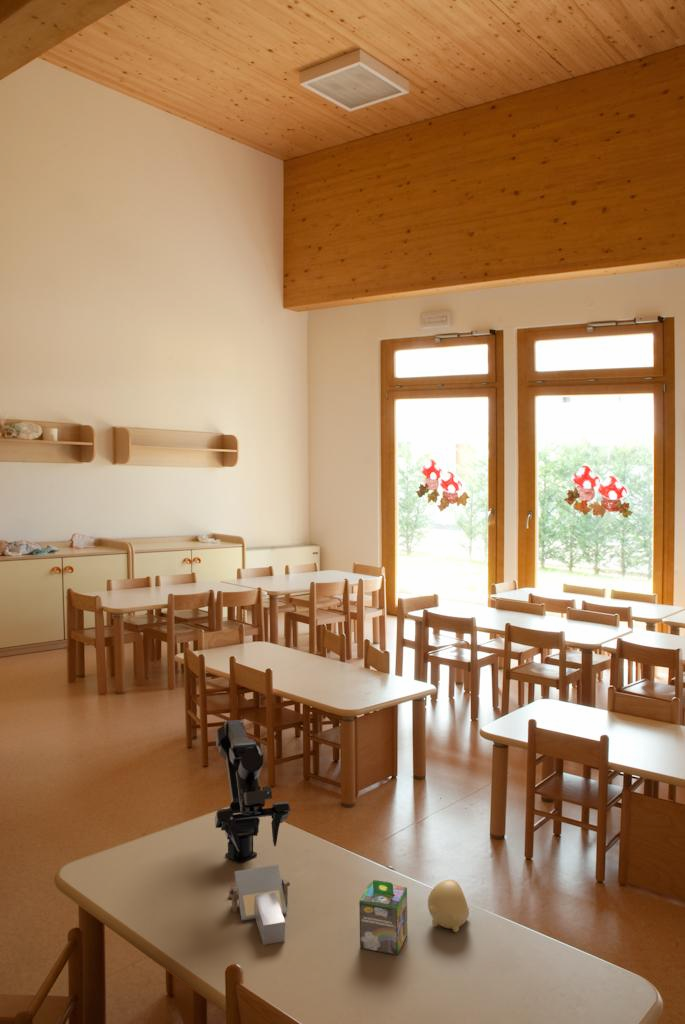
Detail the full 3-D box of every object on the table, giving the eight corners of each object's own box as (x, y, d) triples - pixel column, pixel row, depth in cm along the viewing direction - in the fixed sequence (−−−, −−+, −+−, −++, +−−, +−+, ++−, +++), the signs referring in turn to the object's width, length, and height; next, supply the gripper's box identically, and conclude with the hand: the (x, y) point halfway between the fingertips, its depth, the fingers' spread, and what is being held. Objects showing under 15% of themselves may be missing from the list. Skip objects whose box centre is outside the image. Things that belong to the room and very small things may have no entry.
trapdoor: (233, 879, 211) (234, 870, 209) (276, 872, 214) (278, 864, 212) (240, 926, 202) (242, 918, 200) (284, 919, 206) (287, 911, 203)
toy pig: (468, 943, 198) (479, 899, 205) (459, 924, 190) (471, 879, 197) (429, 931, 202) (441, 888, 209) (418, 912, 194) (432, 868, 201)
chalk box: (408, 934, 195) (408, 873, 194) (397, 956, 187) (398, 892, 186) (370, 927, 198) (370, 866, 197) (358, 948, 190) (358, 885, 189)
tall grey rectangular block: (254, 895, 200) (263, 925, 190) (274, 892, 202) (285, 921, 192) (254, 914, 201) (263, 944, 191) (274, 911, 203) (284, 941, 192)
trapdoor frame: (225, 896, 211) (225, 875, 211) (283, 888, 216) (283, 867, 215) (230, 913, 204) (230, 891, 203) (290, 904, 208) (290, 882, 208)
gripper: (216, 779, 210) (223, 841, 201) (288, 771, 216) (299, 831, 206) (211, 796, 218) (218, 857, 209) (281, 788, 224) (291, 847, 214)
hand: (257, 848), depth 209 cm, fingers open, 9 cm apart
